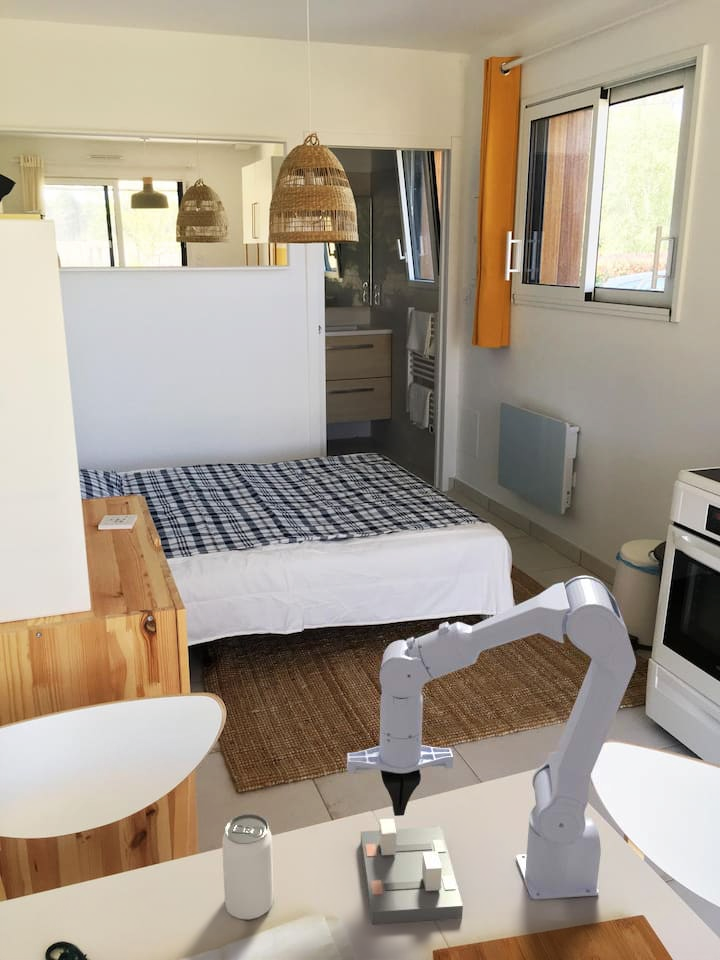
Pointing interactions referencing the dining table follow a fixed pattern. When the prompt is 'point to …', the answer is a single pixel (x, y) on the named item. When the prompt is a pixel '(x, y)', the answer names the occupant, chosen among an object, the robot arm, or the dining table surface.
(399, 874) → the panel
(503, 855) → the dining table surface
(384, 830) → the block
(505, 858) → the dining table surface
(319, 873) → the dining table surface
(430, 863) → the block
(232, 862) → the can
